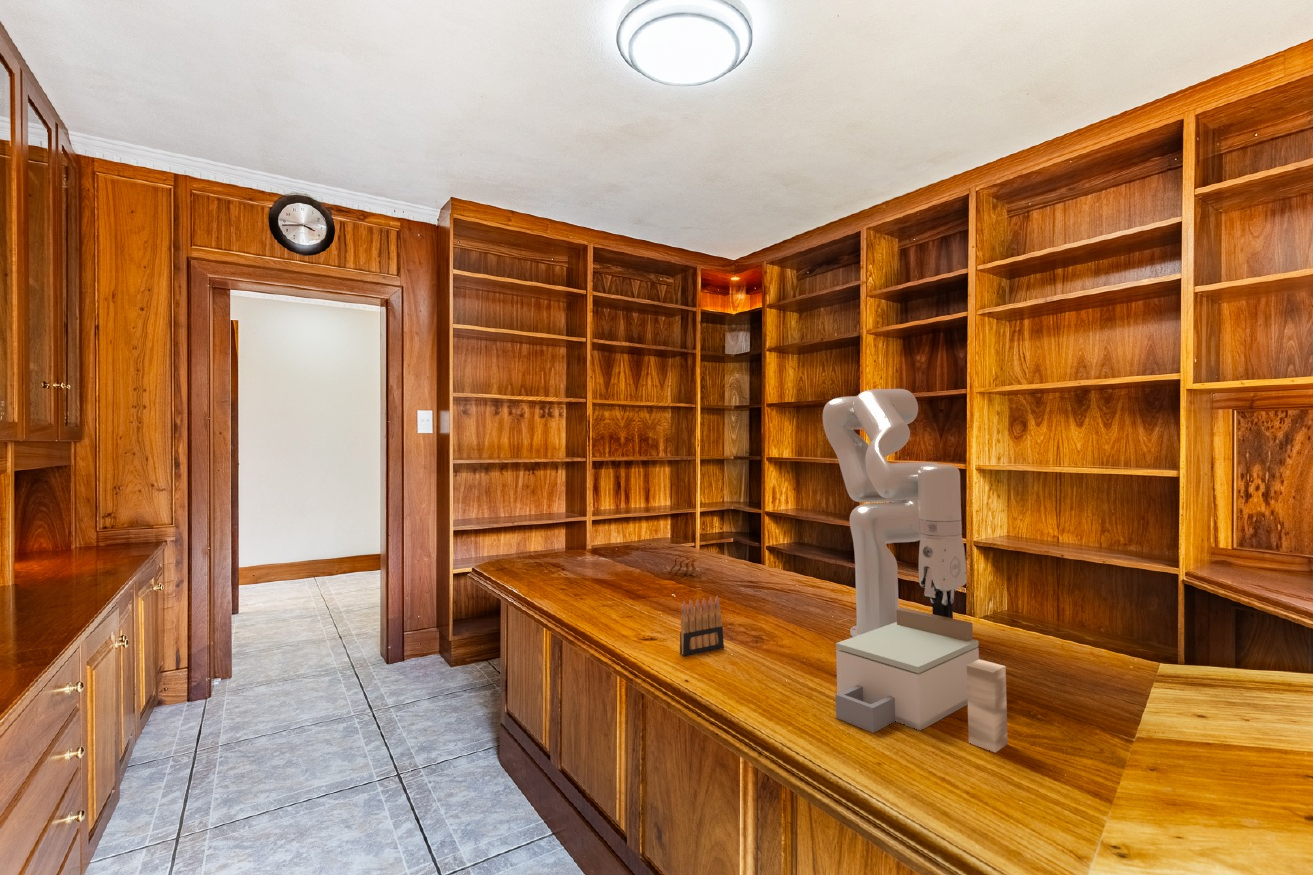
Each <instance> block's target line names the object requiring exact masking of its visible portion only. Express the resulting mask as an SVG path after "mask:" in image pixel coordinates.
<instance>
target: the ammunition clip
mask: <svg viewBox="0 0 1313 875" xmlns="http://www.w3.org/2000/svg"><path fill="white" fill-rule="evenodd" d="M700 604H701V605H700ZM694 605H695V606H694ZM680 629H681V630H680V632H679V655H681V656H683V657H690V656H694V655H698V654H704V653H709V652H713V651H718V650H723V649H724V648H725V643H724V641H725V640H724V631H723V630H724V627H723V626H722V613H721V604H720V599H719V596H718V595H716V597H715V600H714V602H713V598H712V597H711V596H709V598H708V603H707V601H706V598H704V597H703V598H702V601H701V603H700V601H699V599H698V598H696V601H695V604H693V600H692V599H690V600H689V602H688V607H687V604H686V601H685V600H684V601H683V602H682V605H681V619H680Z"/></svg>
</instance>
